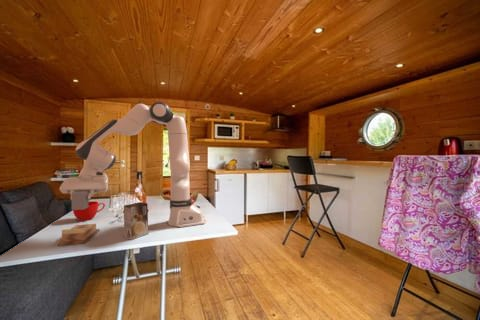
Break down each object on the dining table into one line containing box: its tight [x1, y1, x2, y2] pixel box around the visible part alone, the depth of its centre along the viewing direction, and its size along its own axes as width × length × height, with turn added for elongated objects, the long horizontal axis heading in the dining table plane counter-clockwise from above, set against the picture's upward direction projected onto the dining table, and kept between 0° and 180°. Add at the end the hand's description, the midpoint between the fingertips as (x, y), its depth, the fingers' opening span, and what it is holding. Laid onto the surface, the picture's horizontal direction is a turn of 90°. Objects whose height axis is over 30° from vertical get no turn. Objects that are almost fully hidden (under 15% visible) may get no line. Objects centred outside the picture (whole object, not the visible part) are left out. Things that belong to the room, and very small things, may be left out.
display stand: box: [57, 223, 100, 247], centre depth 103 cm, size 11×16×6 cm
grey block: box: [71, 191, 89, 211], centre depth 102 cm, size 5×5×8 cm
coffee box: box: [123, 201, 149, 241], centre depth 105 cm, size 9×6×16 cm
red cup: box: [72, 200, 106, 222], centre depth 133 cm, size 13×17×10 cm
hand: (80, 199), depth 102 cm, fingers closed on grey block, 5 cm apart
